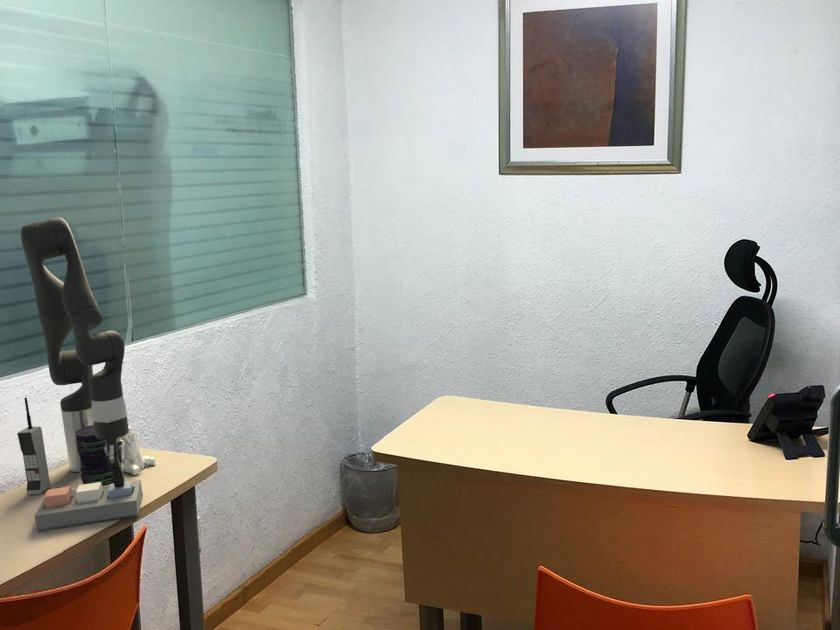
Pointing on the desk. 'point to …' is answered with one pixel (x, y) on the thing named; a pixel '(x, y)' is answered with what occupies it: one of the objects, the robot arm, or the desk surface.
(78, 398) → the robot arm
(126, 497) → the key console
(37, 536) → the desk surface
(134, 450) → the sitting furry creature
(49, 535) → the desk surface
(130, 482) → the blue-grey block
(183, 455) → the desk surface
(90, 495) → the white key
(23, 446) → the vintage mobile phone
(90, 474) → the storage jar
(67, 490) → the orange block
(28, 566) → the desk surface
